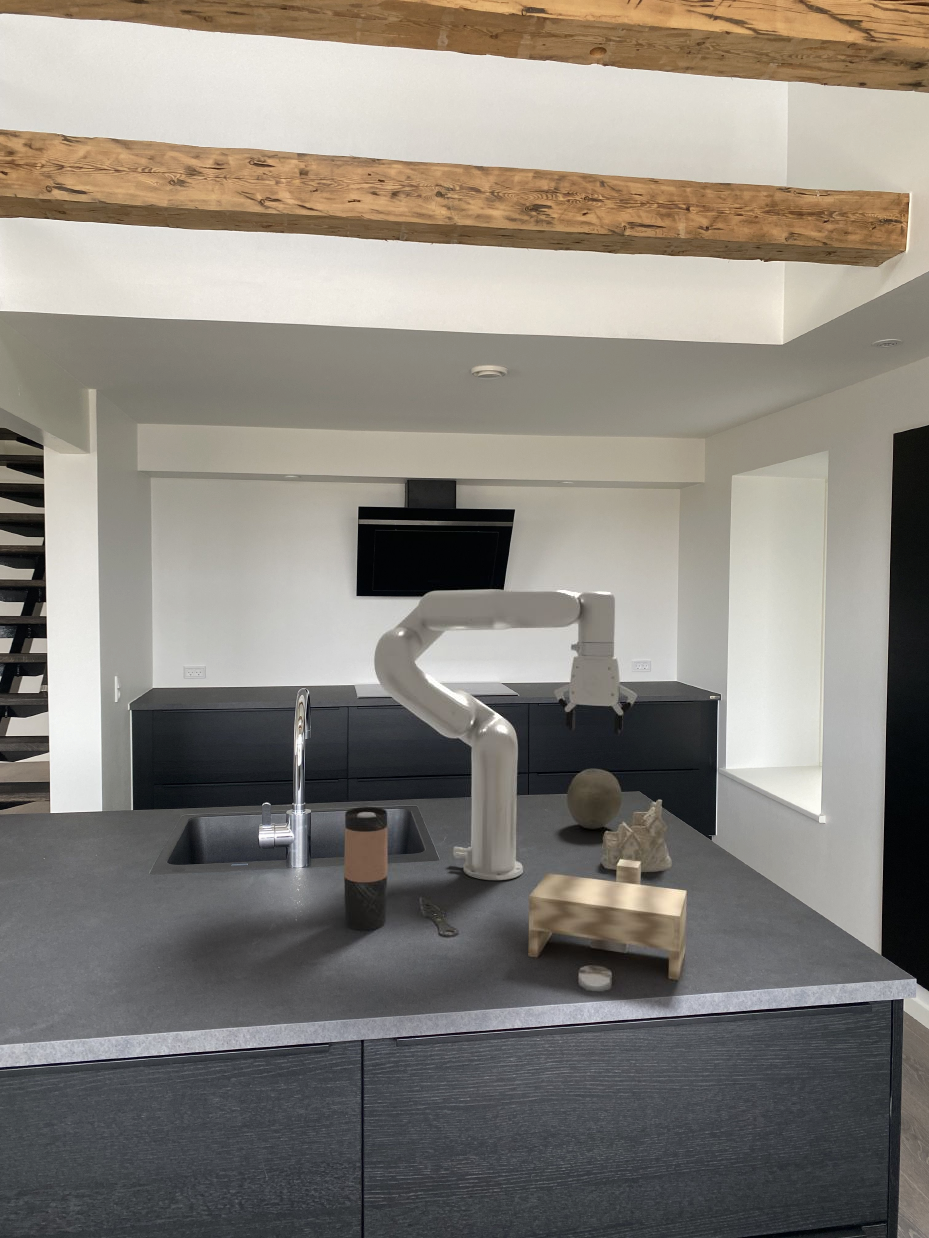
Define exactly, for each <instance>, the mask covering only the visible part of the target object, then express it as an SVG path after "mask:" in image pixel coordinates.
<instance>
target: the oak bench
mask: <svg viewBox="0 0 929 1238" xmlns="http://www.w3.org/2000/svg"><path fill="white" fill-rule="evenodd" d="M687 893H688V892H687V890H685V889H684V890H683V889H675V888H669V887H668V888H666V887H660V886H651V885H645V884H644V885H643V884H640V885H637V884H629V883H621V882H616V881H612V880H606V879H605V880H603V879H595V878H590V877H589V878H587V877H580V876H573V875H572V876H571V875H565V874H556V873H548V872H547V873H546V874H545V875H544V876H543V877H542V879H541V880H540V881H539V882H538V884H537V885H536V886H535V888H534V889H533V891H532V892H531V893H530V895H529V896H528V897H529V898H528V899H529V900H528V901H529V903H528V904H529V905H528V951H527V952H528V954H527V956H528V957H532V958H538V957H539V955H540V954H541V953H542V951H543V950H544V948H545V946H546V944H547V943H548V941H549V939H550V938H551V936H552V935H553V934H560V935H565V936H566V935H567V936H571V937H578V938H585V939H590V938H592V939H598V940H605V941H612V942H619V943H625V944H629V945H632V946H633V945H634V946H639V947H640V946H641V947H646V948H653V949H661V950H666V951H668V979H670V980H675V981H679V980H680V976H681V970H682V967H683V963H684V962H683V961H684V957H685V952H686V942H687V940H686V939H687V938H686V934H687V932H686V931H687V901H688V900H687V899H688V898H687Z"/></svg>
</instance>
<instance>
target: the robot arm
mask: <svg viewBox="0 0 929 1238" xmlns="http://www.w3.org/2000/svg"><path fill="white" fill-rule="evenodd" d="M615 614H616V598H615V595H614V594H613V593H612V592H608V591H585V592H575V591H569V590H566V589H565V590H564V589H560V590H559V589H557V590H536V591H535V590H532V591H531V590H530V591H529V590H528V591H526V590H525V591H518V590H517V591H514V590H513V591H512V590H506V589H505V590H504V589H496V588H495V589H463V590H462V589H458V590H450V589H449V590H433V591H429V592H427V593H425V594H424V595H423V596H422V597H421V598H420V600H419V602H418V604H417V606H416V607H415V608H414V609H412V611H411V612H410V613H409V614H408V615H407V616H406V617H404V619H402V620H401V622H399V624H397V625H396V626H395V627H394V628H393V629H390V630H387V631H386V632H385V633H384V634H382V635H381V637H380V638H379V639H378V642H377V643H376V647H375V649H374V650H375V651H374V658H373V660H374V661H373V663H374V671H375V675H376V677H377V678H376V679H377V681H378V682H379V684H380V686H381V688H383V690H384V691H385V692H386V694H388V695H389V696H390V697H391V698H392V699H394V700H395V701H396V702H397V703H399V704H400V705H401V706H403V707H404V708H405V709H407V710H408V711H410V713H412V714H414V715H415V716H416V717H418V718H419V719H420V720H422V721H423V722H424V723H426V724H428V725H429V726H431V728H433V730H435V731H436V732H437V733H439V734H440V735H442V736H444V737H446V738H449V739H459V740H461V741H462V742H463V743H465V744H467V745H469V746H470V747H471V825H470V826H471V829H470V830H471V832H470V833H471V835H470V836H471V837H470V839H471V841H470V846H468V847H467V848H466V847H463V846H453V849H452V854H453V855H452V856H454V859H458V860H465V861H466V862H464V863H463V872H464V873H465V874H466V875H468V876H469V877H472V878H475V879H479V880H485V881H506V880H511V879H514V878H517V877H519V876H521V875H522V874H523V871H524V867H523V864H522V863H521V862H519V861H517V860H516V859H517V856H516V854H517V849H516V848H517V791H518V787H517V783H518V779H517V778H518V760H519V759H518V758H519V746H518V737H517V732H516V730H515V728H514V726H513V725H512V724H511V722H509V721H508V720H507V719H506V718H504V717H503V716H501V715H500V714H499V713H497V712H496V711H495V710H493V709H491V708H490V707H489V706H487V705H486V704H484V702H481V701H480V700H479V699H478V698H475V696H473V695H471V694H470V693H468V692H466V691H464V690H460V689H450V688H447V687H446V686H445V685H443V684H442V683H440V682H439V681H437V680H436V679H435V678H434V677H433V676H431V675H430V674H428V673H426V672H424V670H422V669H420V668H419V667H418V665H417V664H416V661H417V659H419V658H420V656H422V655H423V654H424V653H425V652H426V651H427V650H428V649H429V648H430V647H431V646H432V645H433V644H434V643H435V642H436V641H438V639H439V638H441V636H443V635H444V633H445V632H446V631H447V632H448V631H452V632H453V631H495V630H496V631H497V630H500V631H501V630H502V631H504V630H508V629H533V628H534V629H543V628H544V629H549V628H550V629H552V628H554V629H555V628H567V627H570V626H571V625H576V624H577V625H578V626H577V627H578V631H577V636H578V638H577V642H576V643H572V644H571V645H570V651H574V652H576V654H577V655H576V656H573V660H572V664H571V671H570V680H569V681H570V682H569V683H568V684H565V685H563V686H561V687H559V688H557V689H554V693H553V694H554V695H555V697H556V699H557V701H558V704H559V705H560V706H561V707H562V708H563V709H564V711H565V713H566V721H565V722H566V727H568V732H573V731H574V730H575V729H576V711H575V707H577V705H581V706H597V707H599V706H601V707H612V708H613V710H614V711H615V715H614V734H615V735H619V734H620V733H621V731H623V730H624V715H625V713H626V712H628V711H629V709H630V708H631V707H632V706H633V705H634V703H635V701H636V699H637V698H638V694H637V693H636V692H634V691H633V690H630V689H629V688H627V687H625V686H623V685H621V683H620V680H621V678H620V677H621V676H620V667H619V661H618V658H617V657H615V627H616V626H615V625H616V624H615V621H616V620H615V619H616V617H615V616H616V615H615ZM568 691H569V694H568V695H569V696H568V697H569V701H568V700H567V699H566V698H565V697H564V693H565V692H568ZM621 694H622V695H624V696H626V697H627V701H626V702H625V704H623V705H622V704H621V703H620V699H621Z"/></svg>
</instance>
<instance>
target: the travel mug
mask: <svg viewBox="0 0 929 1238" xmlns="http://www.w3.org/2000/svg"><path fill="white" fill-rule="evenodd" d="M344 818H345V819H344V821H345V822H344V824H345V825H344V826H345V827H344V867H343V868H344V869H343V870H344V871H343V872H344V873H343V878H344V881H343V883H344V885H343V886H344V917H345V918H344V921H345V926H346V927H348V928H349V929H351V930H355V931H373V930H377V929H379V928H382V927H383V926H384V925H385V923H386V917H387V916H386V914H387V913H386V912H387V893H388V892H387V891H388V889H387V888H388V811H387V810H385V808H382V807H381V808H380V807H375V806H362V807H355V808H351V809H348V810H347V811H345V813H344Z"/></svg>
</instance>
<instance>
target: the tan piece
mask: <svg viewBox="0 0 929 1238" xmlns="http://www.w3.org/2000/svg"><path fill="white" fill-rule="evenodd" d="M641 874H642V872H641V862H640V861H631V860H623V859H620V860H619V862H618V864H617V869H616V881H615V882H621V883H629V884H637V885H642V884H641V882H642V881H641V878H642V877H641V876H642V875H641ZM589 941H590V942H589V945H590V946H589V948H590V947H591V948H592V949H598V950H605V951H611V952H617V953H625V954H627V951H628V949H629V947H630V944H625V943H619V942H612V941H605V940H598V939H592V938H589Z"/></svg>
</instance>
